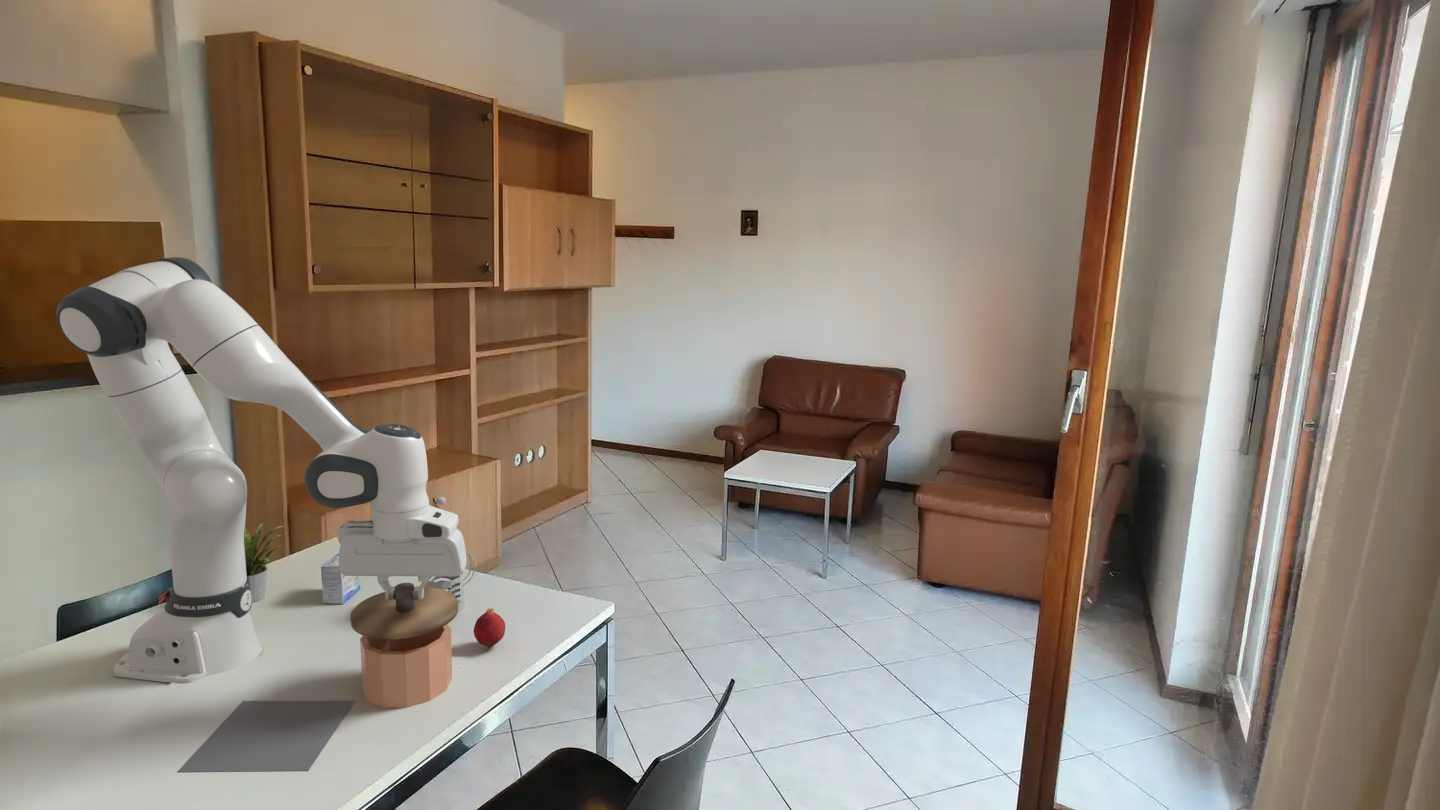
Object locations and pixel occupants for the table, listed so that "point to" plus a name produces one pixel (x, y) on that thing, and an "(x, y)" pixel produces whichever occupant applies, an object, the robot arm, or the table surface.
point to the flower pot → (406, 668)
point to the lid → (404, 613)
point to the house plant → (257, 562)
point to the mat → (269, 737)
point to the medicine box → (337, 583)
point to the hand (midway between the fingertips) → (405, 598)
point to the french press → (452, 581)
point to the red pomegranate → (489, 628)
